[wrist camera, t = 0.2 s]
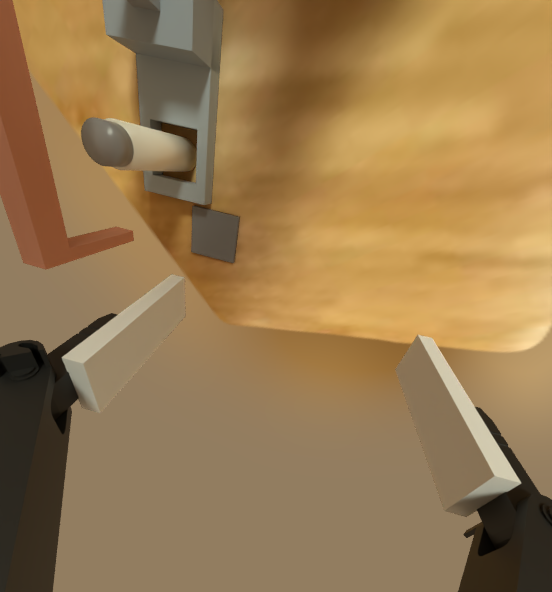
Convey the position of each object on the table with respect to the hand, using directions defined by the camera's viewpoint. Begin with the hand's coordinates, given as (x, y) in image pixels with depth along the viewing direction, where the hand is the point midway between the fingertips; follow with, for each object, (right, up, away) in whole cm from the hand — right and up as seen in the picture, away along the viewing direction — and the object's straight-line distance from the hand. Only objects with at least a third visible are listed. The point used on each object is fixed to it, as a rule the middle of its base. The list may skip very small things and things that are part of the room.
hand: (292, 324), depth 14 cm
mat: (-11, +12, +27) cm, 32 cm away
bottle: (-15, +23, +23) cm, 36 cm away
